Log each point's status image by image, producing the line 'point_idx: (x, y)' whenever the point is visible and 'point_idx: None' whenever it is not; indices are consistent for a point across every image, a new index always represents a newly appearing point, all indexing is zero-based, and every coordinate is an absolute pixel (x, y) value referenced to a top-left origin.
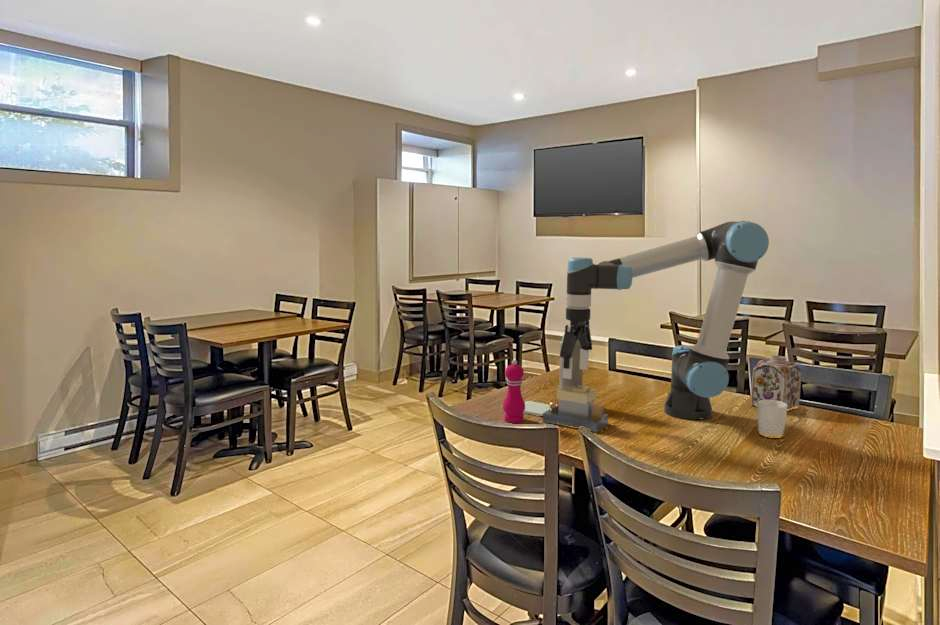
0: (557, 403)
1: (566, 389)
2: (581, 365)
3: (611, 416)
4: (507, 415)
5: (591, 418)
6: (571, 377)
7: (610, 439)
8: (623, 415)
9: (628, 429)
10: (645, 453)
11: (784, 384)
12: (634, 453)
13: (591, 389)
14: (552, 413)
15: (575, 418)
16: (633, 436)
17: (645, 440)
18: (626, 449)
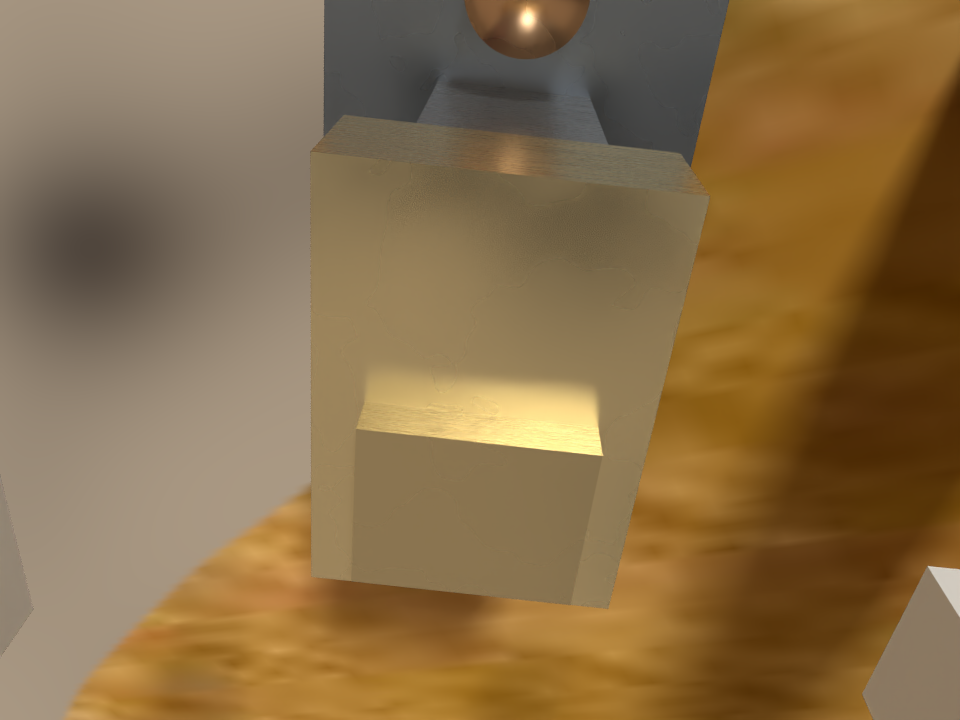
0: (520, 48)
1: (417, 286)
2: (953, 677)
3: (809, 460)
4: None
5: None
6: (7, 630)
7: (262, 542)
8: (866, 531)
9: (530, 602)
10: (161, 716)
11: None
12: (121, 677)
13: (585, 574)
14: (379, 16)
15: None
16: (403, 642)
17: (369, 698)
18: (152, 638)
